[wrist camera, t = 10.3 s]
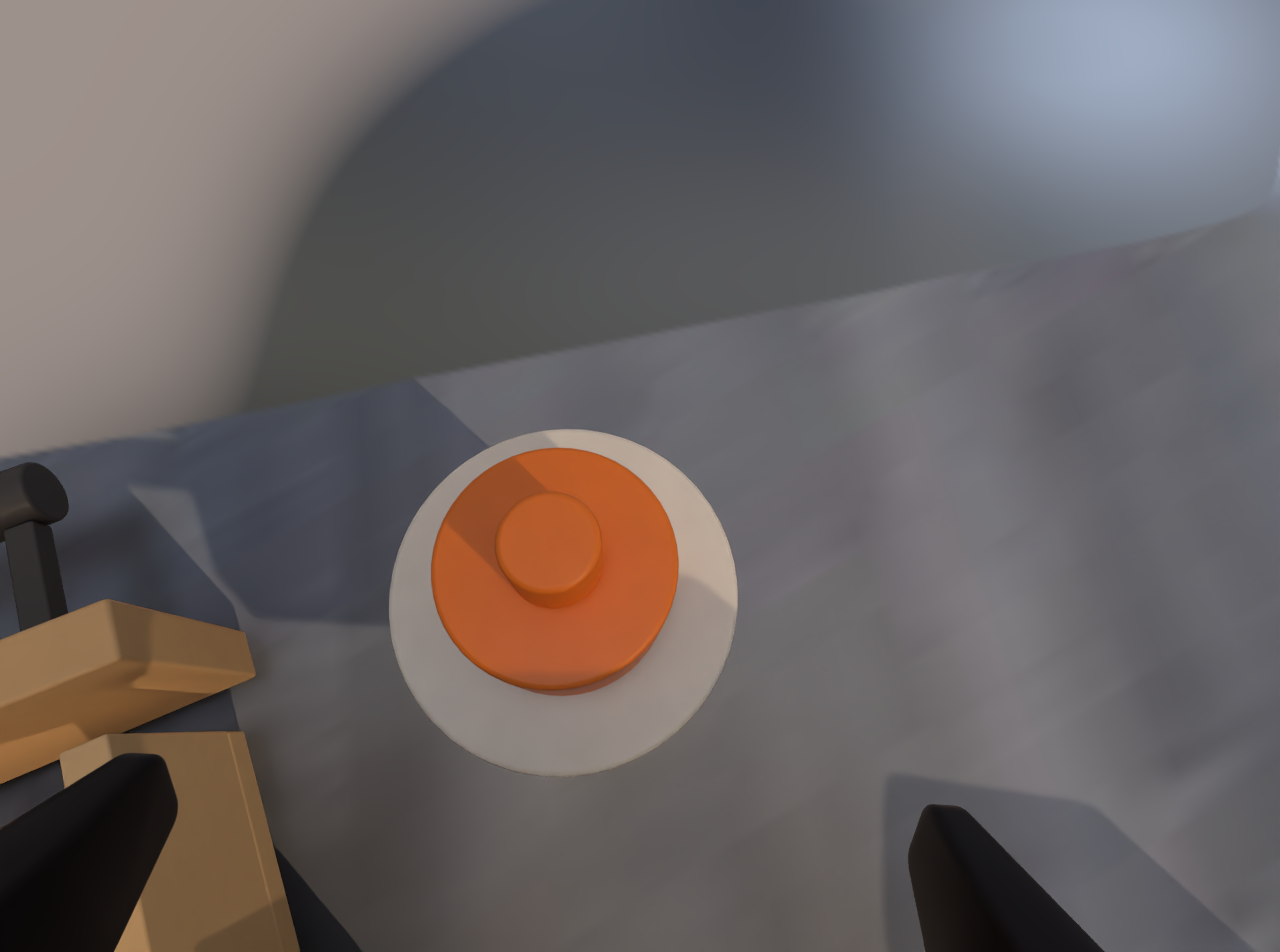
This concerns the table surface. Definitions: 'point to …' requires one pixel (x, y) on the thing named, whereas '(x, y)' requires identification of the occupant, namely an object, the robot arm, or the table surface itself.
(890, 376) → the table surface
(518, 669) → the glue bottle
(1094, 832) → the table surface
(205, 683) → the drawer
